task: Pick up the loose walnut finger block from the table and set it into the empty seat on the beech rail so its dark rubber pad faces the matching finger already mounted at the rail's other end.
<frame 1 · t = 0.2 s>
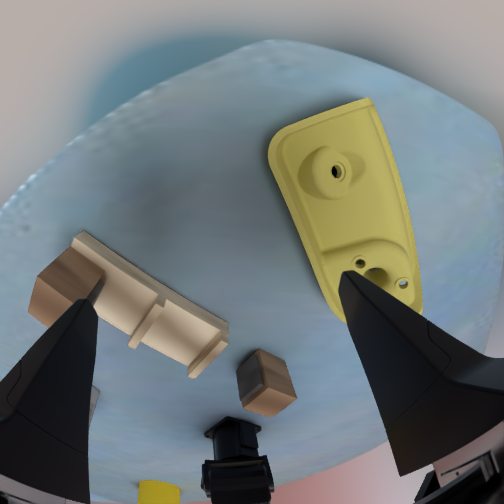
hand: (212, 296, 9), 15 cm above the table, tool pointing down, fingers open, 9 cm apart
walnut finger: (261, 365, 31), on the table
plastic component: (345, 211, 25), on the table
rail: (141, 301, 26), on the table
yellow hollow cylinder: (159, 486, 45), on the table
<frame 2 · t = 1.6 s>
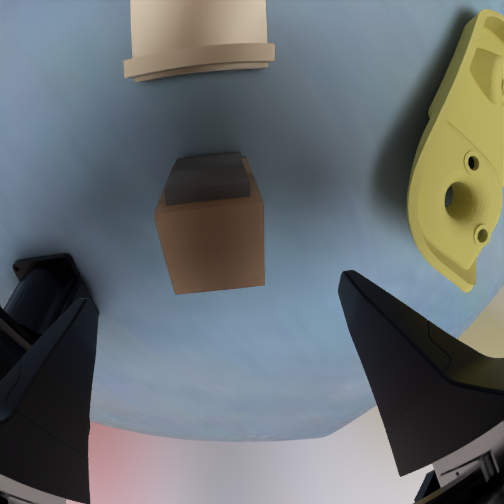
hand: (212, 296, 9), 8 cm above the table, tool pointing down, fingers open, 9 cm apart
walnut finger: (213, 192, 16), on the table
plastic component: (460, 123, 15), on the table
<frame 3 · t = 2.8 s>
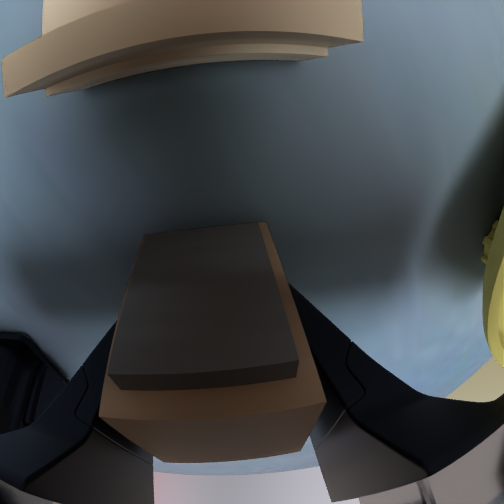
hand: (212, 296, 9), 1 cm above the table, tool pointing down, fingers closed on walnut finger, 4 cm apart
walnut finger: (211, 276, 10), on the table, touching gripper
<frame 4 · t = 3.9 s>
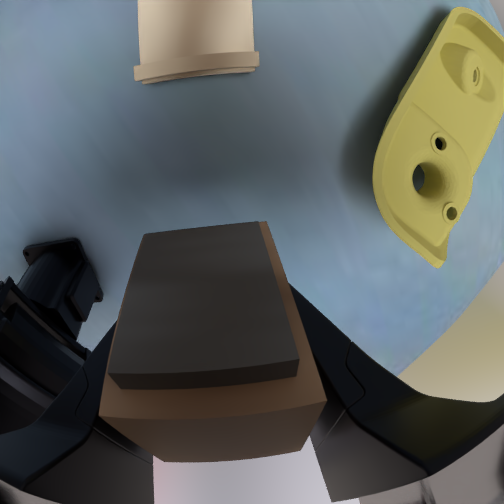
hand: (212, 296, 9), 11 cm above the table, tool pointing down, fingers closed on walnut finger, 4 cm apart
walnut finger: (211, 276, 10), point 10 cm above the table, touching gripper
plastic component: (433, 112, 16), on the table
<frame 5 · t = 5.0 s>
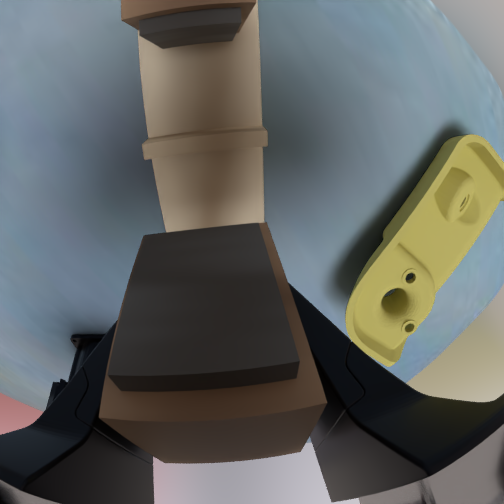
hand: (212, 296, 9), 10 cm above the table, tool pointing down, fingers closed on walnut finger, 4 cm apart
walnut finger: (211, 277, 10), point 9 cm above the table, touching gripper
plastic component: (416, 229, 22), on the table
rail: (204, 113, 14), on the table
when the fingers open (4 cm above the table, at t = 6.2 s): walnut finger drops 1 cm, resting on rail.
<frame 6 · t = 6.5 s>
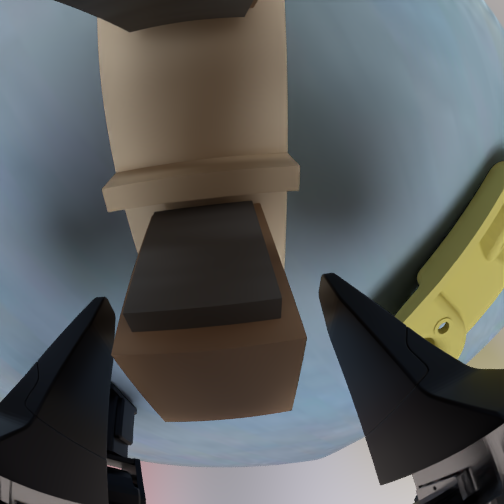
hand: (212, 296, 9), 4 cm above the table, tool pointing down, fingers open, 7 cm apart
walnut finger: (211, 253, 11), point 2 cm above the table, touching rail
plastic component: (448, 265, 18), on the table
rail: (199, 129, 10), on the table
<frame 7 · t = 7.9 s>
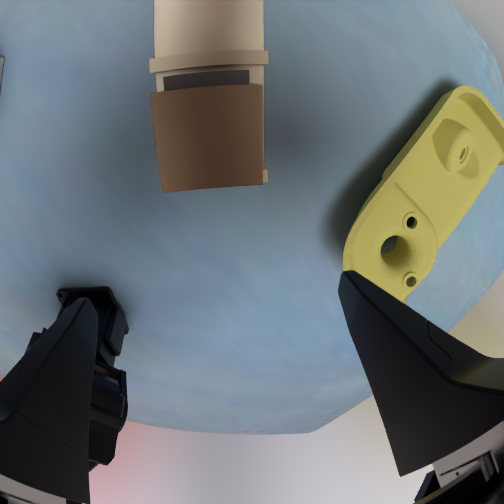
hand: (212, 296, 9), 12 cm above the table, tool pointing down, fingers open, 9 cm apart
walnut finger: (211, 117, 14), point 2 cm above the table, touching rail
plastic component: (415, 182, 21), on the table
rail: (209, 46, 13), on the table
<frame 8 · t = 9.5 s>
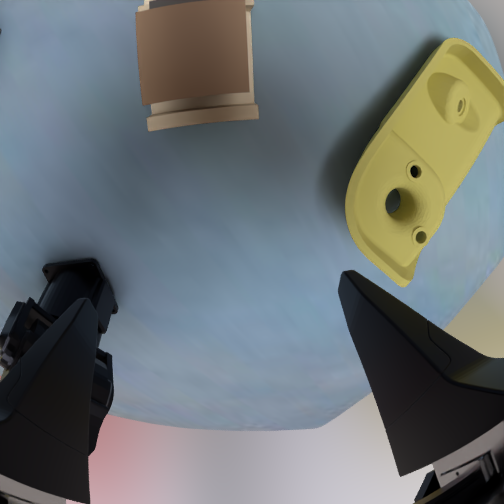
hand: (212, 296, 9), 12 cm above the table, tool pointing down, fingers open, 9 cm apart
walnut finger: (199, 60, 12), point 2 cm above the table, touching rail
plastic component: (415, 139, 19), on the table
rail: (197, 2, 11), on the table
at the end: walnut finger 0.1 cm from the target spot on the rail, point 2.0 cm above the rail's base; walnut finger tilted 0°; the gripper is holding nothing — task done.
